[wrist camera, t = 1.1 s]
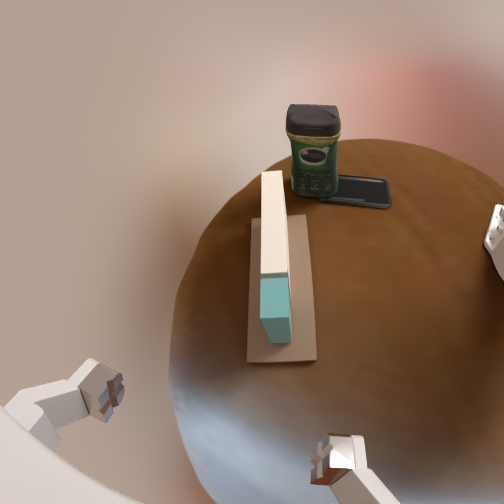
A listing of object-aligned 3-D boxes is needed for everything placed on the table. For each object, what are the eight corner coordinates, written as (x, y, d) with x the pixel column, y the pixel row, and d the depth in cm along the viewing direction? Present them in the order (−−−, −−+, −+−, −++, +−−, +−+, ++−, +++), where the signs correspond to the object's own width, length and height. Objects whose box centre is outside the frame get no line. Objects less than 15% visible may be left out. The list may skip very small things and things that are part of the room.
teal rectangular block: (270, 311, 40) (260, 275, 31) (291, 310, 40) (287, 274, 30) (270, 343, 38) (259, 318, 28) (292, 342, 37) (289, 316, 28)
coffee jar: (337, 175, 55) (341, 99, 40) (337, 201, 51) (343, 120, 36) (293, 172, 58) (286, 96, 42) (289, 198, 54) (280, 117, 38)
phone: (320, 173, 55) (387, 179, 52) (320, 177, 56) (386, 183, 53) (318, 199, 51) (392, 206, 48) (318, 203, 52) (391, 210, 49)
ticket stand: (252, 221, 52) (239, 170, 41) (305, 218, 50) (304, 164, 40) (247, 362, 38) (225, 342, 27) (316, 360, 36) (324, 340, 26)
